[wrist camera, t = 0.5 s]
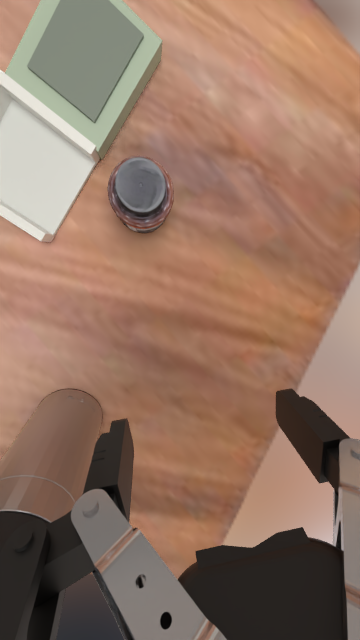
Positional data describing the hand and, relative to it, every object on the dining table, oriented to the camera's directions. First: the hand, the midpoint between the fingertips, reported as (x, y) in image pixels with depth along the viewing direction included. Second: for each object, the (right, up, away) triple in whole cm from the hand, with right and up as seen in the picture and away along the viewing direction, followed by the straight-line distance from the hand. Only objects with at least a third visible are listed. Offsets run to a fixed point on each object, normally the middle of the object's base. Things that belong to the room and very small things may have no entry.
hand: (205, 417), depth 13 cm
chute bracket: (-17, +22, +15) cm, 31 cm away
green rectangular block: (-11, +31, +13) cm, 35 cm away
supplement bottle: (-6, +19, +17) cm, 26 cm away
